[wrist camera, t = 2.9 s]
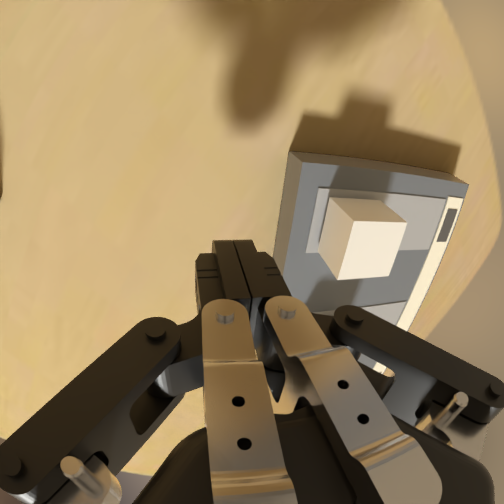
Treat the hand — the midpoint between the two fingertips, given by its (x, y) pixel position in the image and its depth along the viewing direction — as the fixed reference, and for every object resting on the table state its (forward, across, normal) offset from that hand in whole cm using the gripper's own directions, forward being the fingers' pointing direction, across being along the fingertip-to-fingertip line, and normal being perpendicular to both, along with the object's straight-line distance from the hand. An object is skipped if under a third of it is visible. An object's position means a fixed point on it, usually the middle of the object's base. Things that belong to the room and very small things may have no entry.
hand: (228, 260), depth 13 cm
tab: (+2, -7, 0) cm, 7 cm away
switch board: (+5, -10, +8) cm, 13 cm away
